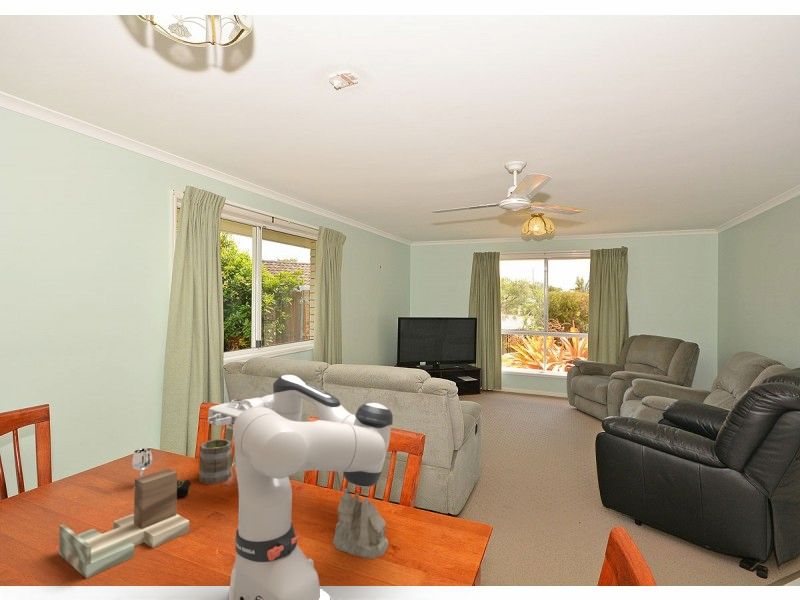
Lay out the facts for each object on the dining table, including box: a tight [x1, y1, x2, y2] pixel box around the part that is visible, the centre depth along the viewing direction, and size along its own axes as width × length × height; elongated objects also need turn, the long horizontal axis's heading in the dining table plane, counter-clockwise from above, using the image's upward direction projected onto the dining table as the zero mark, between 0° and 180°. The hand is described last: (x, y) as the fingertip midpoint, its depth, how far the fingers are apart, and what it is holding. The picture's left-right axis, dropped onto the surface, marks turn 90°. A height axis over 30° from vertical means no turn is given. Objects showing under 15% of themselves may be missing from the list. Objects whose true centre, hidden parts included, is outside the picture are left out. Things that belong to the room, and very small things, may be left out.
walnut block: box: [133, 468, 178, 529], centre depth 116 cm, size 4×9×12 cm, turn 146°
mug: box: [198, 438, 234, 485], centre depth 153 cm, size 16×11×12 cm
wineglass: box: [131, 447, 153, 490], centre depth 143 cm, size 6×6×12 cm
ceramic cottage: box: [332, 487, 389, 560], centre depth 115 cm, size 16×16×15 cm
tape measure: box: [177, 479, 192, 498], centre depth 137 cm, size 7×7×4 cm
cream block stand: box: [58, 513, 190, 580], centre depth 110 cm, size 16×24×7 cm, turn 146°
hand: (211, 421), depth 130 cm, fingers closed
